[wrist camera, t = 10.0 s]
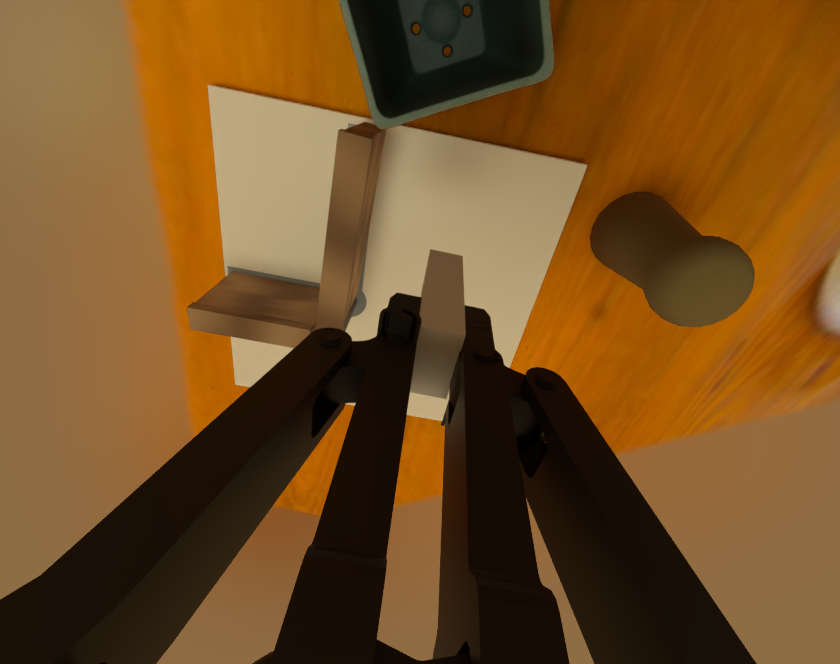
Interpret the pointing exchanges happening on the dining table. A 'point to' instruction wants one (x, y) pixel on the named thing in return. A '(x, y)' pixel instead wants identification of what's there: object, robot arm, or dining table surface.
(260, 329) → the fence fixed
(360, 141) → the fence panel
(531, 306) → the card
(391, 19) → the flower pot
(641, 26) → the dining table surface
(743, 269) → the cork
